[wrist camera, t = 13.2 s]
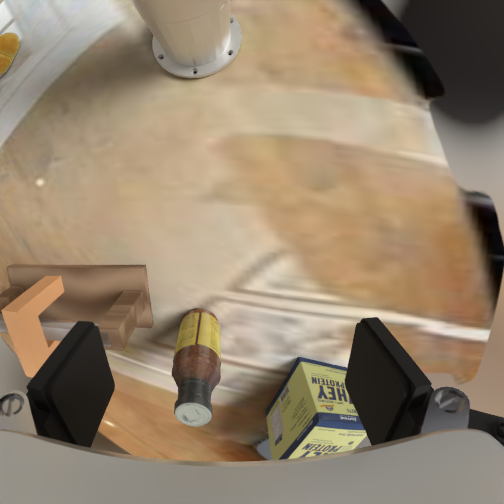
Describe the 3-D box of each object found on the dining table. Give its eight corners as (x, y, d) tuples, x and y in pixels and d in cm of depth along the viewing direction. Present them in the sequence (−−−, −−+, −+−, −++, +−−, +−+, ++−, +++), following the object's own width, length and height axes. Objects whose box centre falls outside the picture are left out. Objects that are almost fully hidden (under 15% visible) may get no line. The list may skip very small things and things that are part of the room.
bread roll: (27, 36, 30) (16, 30, 26) (5, 81, 32) (-8, 78, 28) (4, 33, 29) (-7, 28, 25) (-16, 74, 31) (-28, 72, 27)
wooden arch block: (46, 275, 38) (1, 310, 26) (61, 275, 38) (16, 312, 26) (61, 333, 41) (26, 376, 29) (75, 334, 41) (42, 379, 29)
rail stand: (11, 264, 42) (-32, 292, 29) (145, 264, 43) (116, 303, 31) (24, 313, 45) (-13, 348, 32) (153, 323, 46) (132, 373, 34)
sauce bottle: (181, 337, 47) (159, 429, 28) (182, 304, 46) (155, 391, 27) (221, 341, 48) (217, 435, 29) (224, 308, 46) (220, 399, 27)
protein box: (347, 365, 51) (377, 424, 37) (310, 420, 55) (326, 478, 40) (298, 354, 50) (319, 419, 35) (264, 412, 54) (272, 475, 39)
